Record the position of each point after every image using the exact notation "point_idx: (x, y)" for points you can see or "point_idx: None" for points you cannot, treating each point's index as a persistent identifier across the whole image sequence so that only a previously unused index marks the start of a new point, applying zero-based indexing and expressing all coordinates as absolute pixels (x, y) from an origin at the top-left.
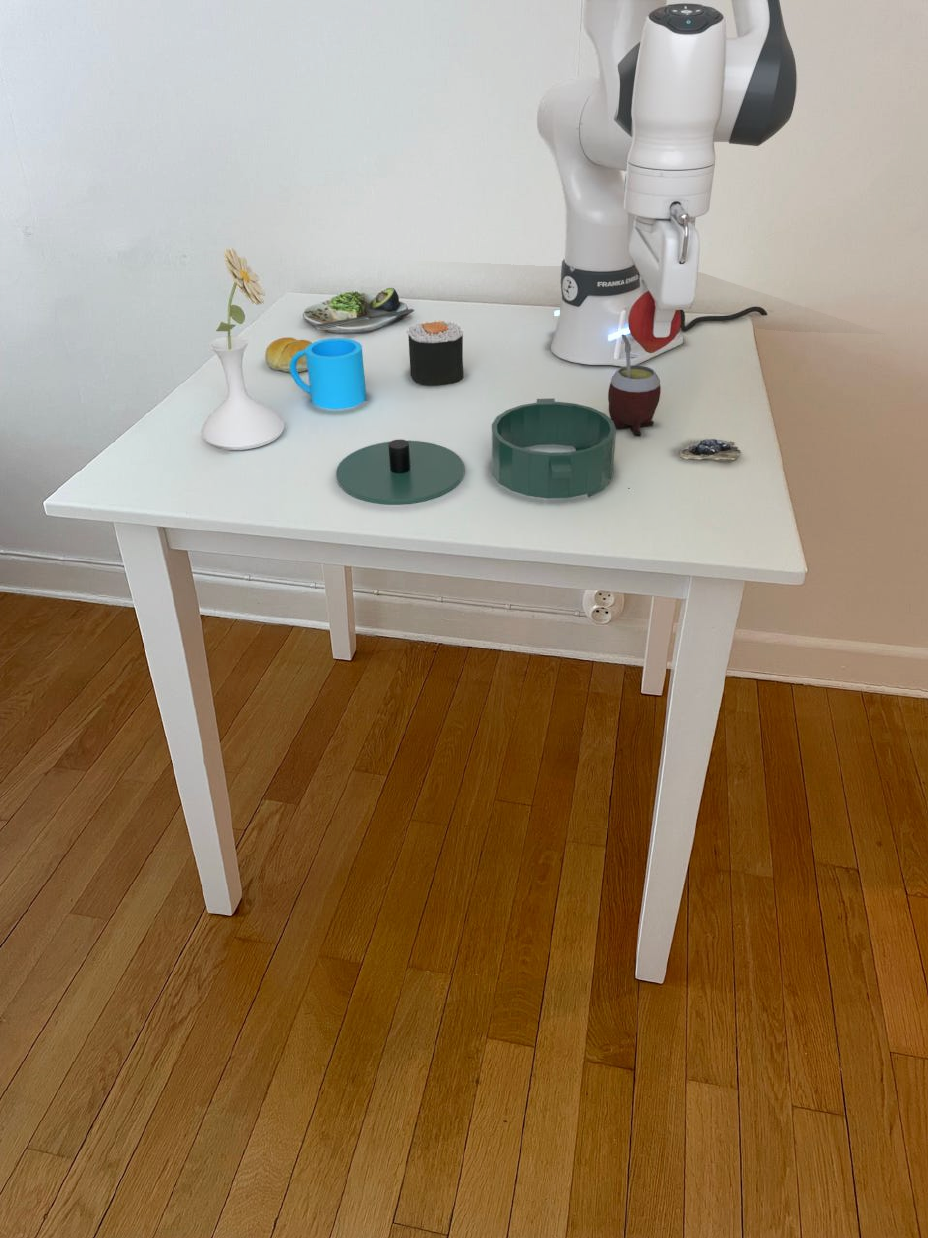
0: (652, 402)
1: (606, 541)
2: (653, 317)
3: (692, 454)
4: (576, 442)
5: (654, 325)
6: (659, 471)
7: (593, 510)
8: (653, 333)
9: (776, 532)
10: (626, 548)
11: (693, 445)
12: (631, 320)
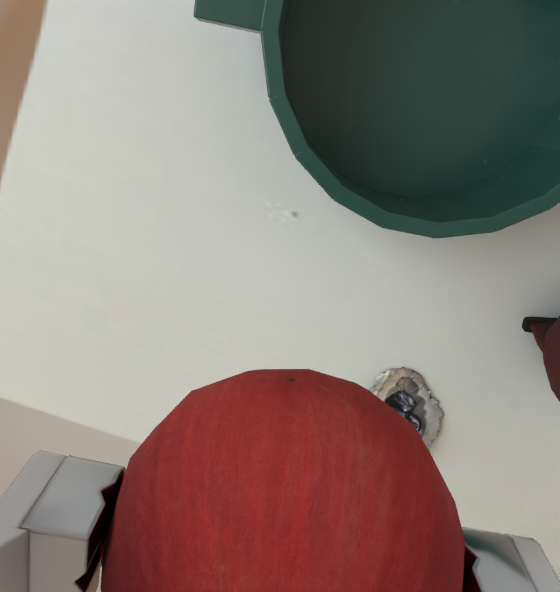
0: (554, 388)
1: (78, 81)
2: (74, 540)
3: (393, 392)
4: (523, 157)
5: (4, 496)
6: (349, 304)
7: (216, 98)
8: (32, 455)
9: (77, 406)
10: (46, 116)
11: (407, 405)
12: (262, 409)
